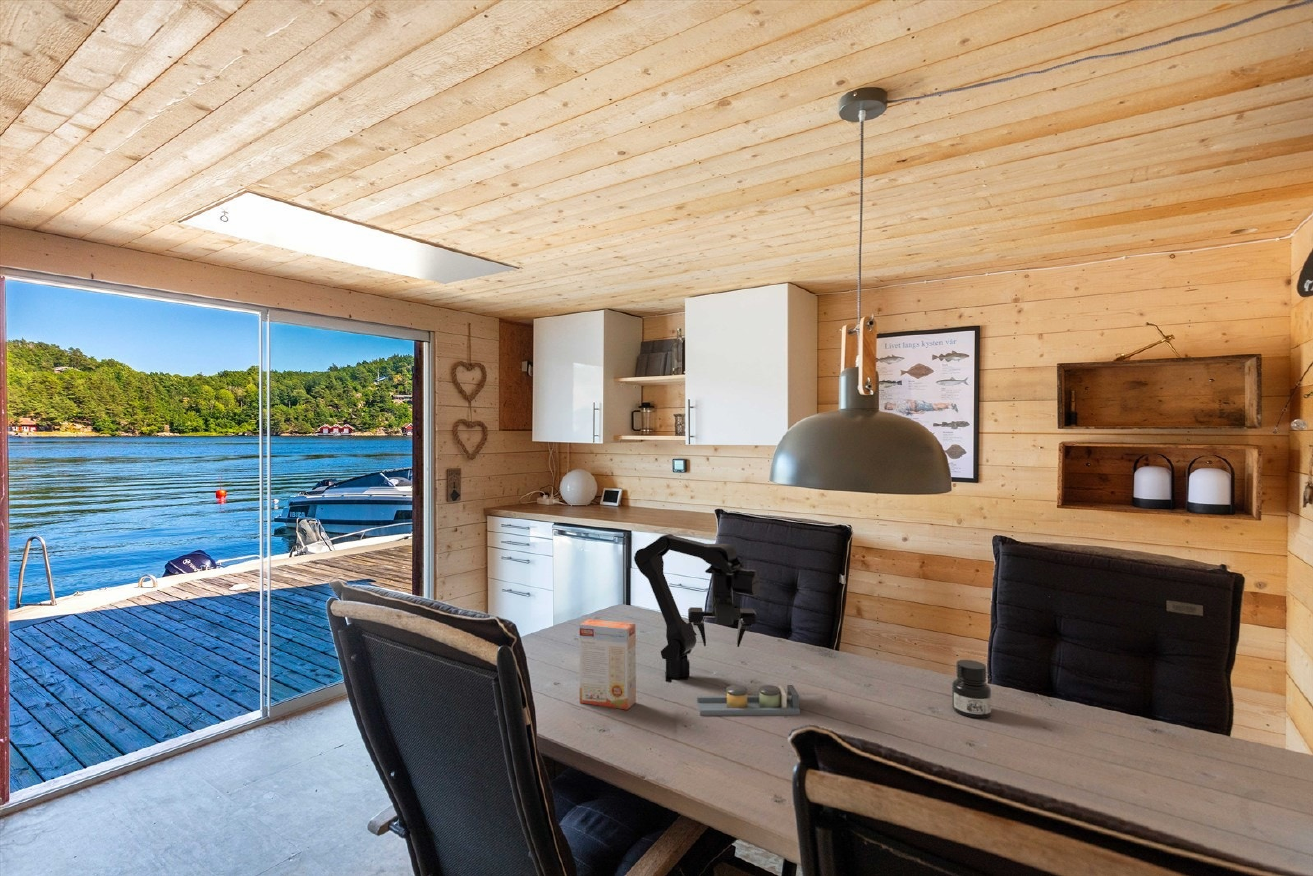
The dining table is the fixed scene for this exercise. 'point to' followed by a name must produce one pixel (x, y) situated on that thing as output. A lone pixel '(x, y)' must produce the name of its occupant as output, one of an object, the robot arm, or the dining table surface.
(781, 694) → the pusher
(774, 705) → the jar in lane
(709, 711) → the lane
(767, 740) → the dining table surface
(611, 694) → the cracker box
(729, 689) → the jar
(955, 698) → the ink bottle
